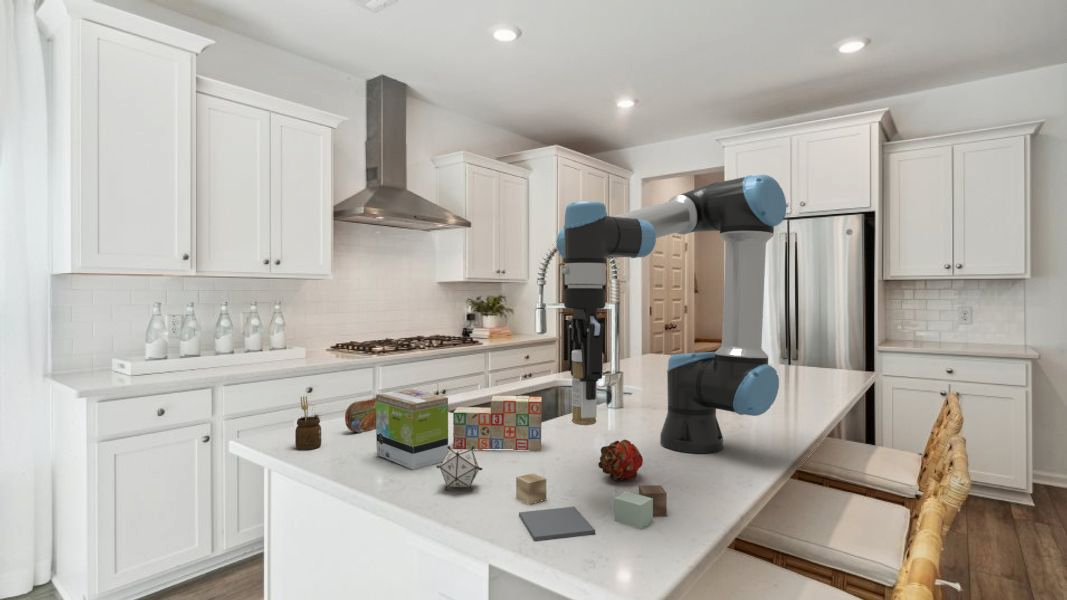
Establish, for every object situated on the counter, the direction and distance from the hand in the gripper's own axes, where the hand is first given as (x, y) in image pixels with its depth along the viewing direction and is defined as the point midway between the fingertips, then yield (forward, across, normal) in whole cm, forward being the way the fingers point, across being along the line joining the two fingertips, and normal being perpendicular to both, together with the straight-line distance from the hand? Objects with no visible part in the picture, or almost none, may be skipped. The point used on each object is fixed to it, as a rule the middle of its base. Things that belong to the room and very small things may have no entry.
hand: (583, 413), depth 104 cm
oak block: (+16, -3, -9) cm, 19 cm away
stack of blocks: (+16, -38, -8) cm, 42 cm away
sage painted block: (+16, +11, +5) cm, 20 cm away
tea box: (+16, -34, -29) cm, 47 cm away
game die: (+16, -12, -21) cm, 29 cm away
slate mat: (+16, +9, -8) cm, 20 cm away
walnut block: (+16, +8, +10) cm, 20 cm away
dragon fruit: (+16, -10, +12) cm, 22 cm away
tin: (+16, -64, -40) cm, 77 cm away
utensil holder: (+16, -49, -54) cm, 75 cm away
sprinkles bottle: (+2, 0, 0) cm, 2 cm away
